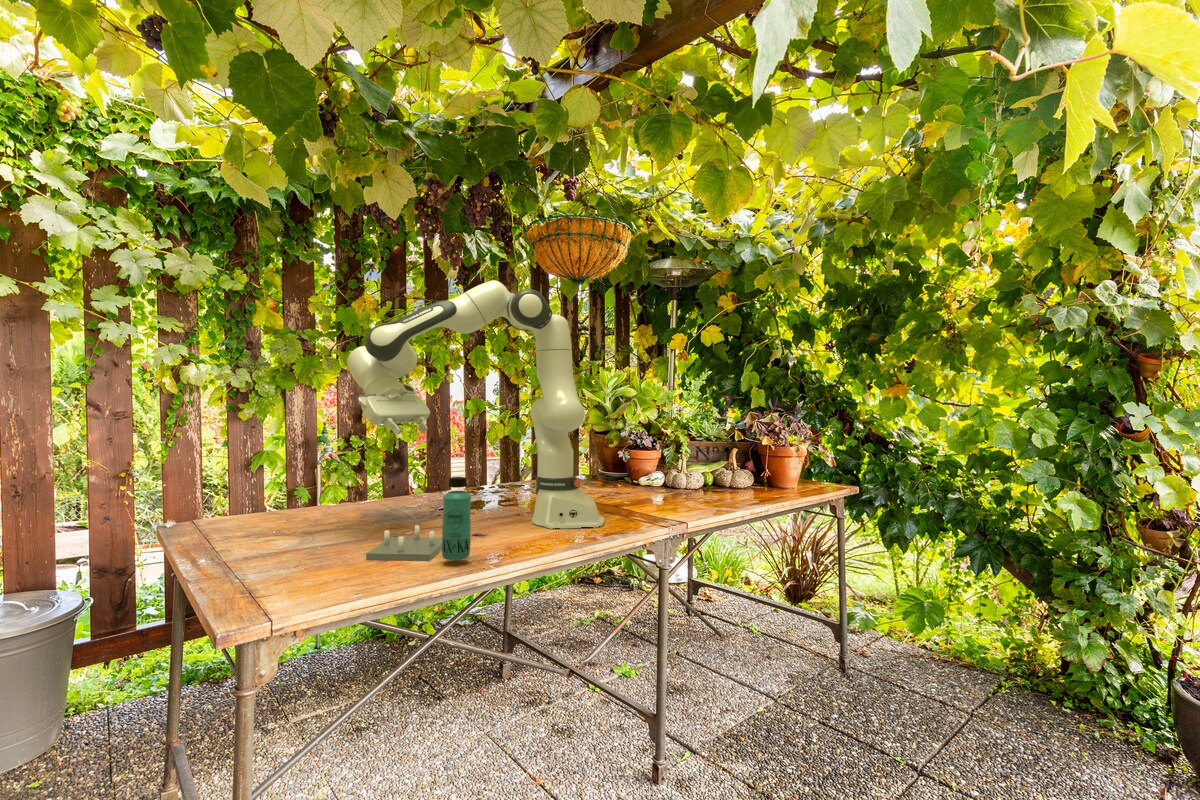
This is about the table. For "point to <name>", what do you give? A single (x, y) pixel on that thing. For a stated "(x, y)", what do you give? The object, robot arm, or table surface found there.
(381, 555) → the pin plate
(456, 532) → the beverage bottle
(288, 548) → the table surface
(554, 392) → the robot arm
